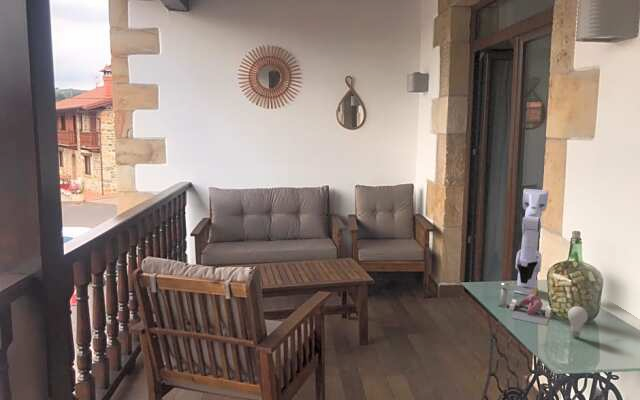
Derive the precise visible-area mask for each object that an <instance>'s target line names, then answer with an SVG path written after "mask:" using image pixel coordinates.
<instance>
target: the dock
mask: <svg viewBox="0 0 640 400" xmlns="http://www.w3.org/2000/svg"><path fill="white" fill-rule="evenodd" d="M500 289H501V288H500ZM508 291H509V290H504V289H501V290H500V301H499V302H498V307H502V308H507V307H508V306H509V311H514V312H515V308H516V306H517V302H518V300H517V299H514V298H513V299H512V300H511V302H510V304H509V302H508V293H509V292H508ZM508 304H509V305H508ZM551 314H552V308H550V305H547V306H546V309H545V313H544V316H545V317H549V318H550V316H551Z"/></svg>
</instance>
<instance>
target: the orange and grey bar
mask: <svg viewBox="0 0 640 400" xmlns="http://www.w3.org/2000/svg"><path fill="white" fill-rule="evenodd" d="M500 289H504V290H508V291H513V292H514V291H519V292H525V293H530V294H533V295H535V296H537V292H538V288H537V287H535V288H530V287H524V286H518V285H517V284H512V283H509V282H505V281H504V282H501V283H500Z"/></svg>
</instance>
